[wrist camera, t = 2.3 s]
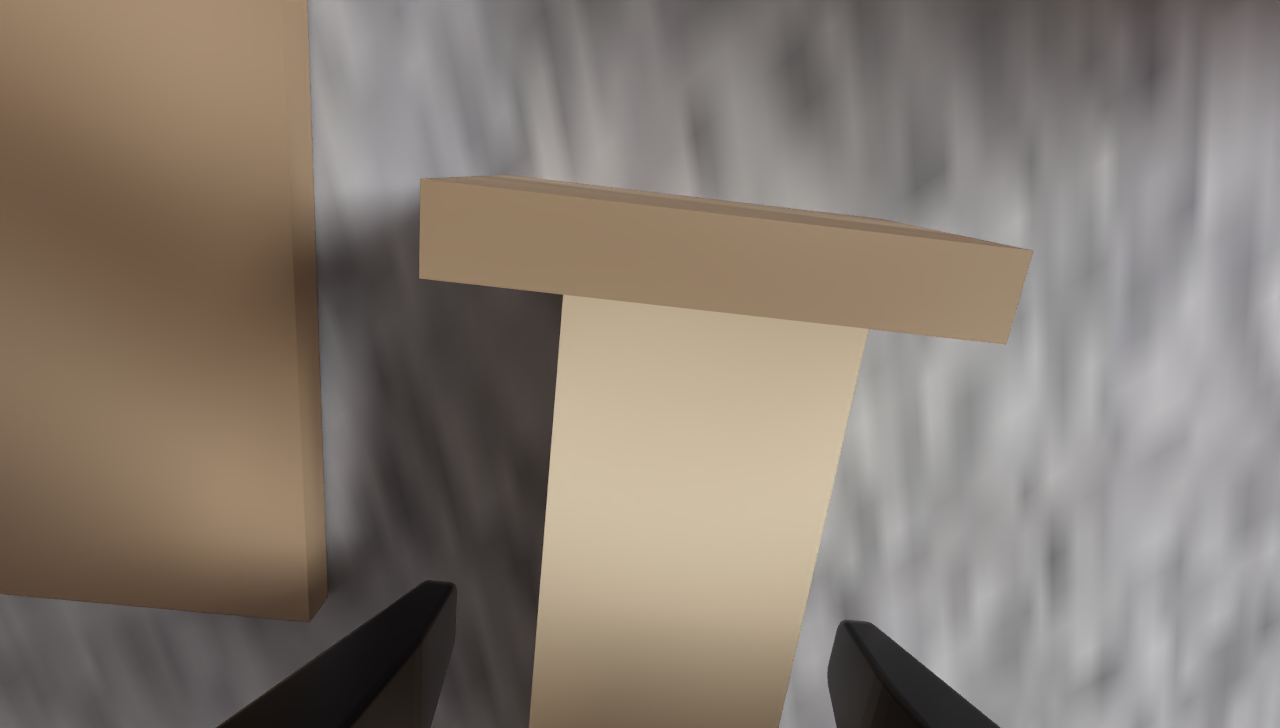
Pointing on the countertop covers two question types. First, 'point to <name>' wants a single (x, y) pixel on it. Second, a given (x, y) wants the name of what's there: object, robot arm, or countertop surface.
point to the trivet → (160, 307)
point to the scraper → (696, 420)
